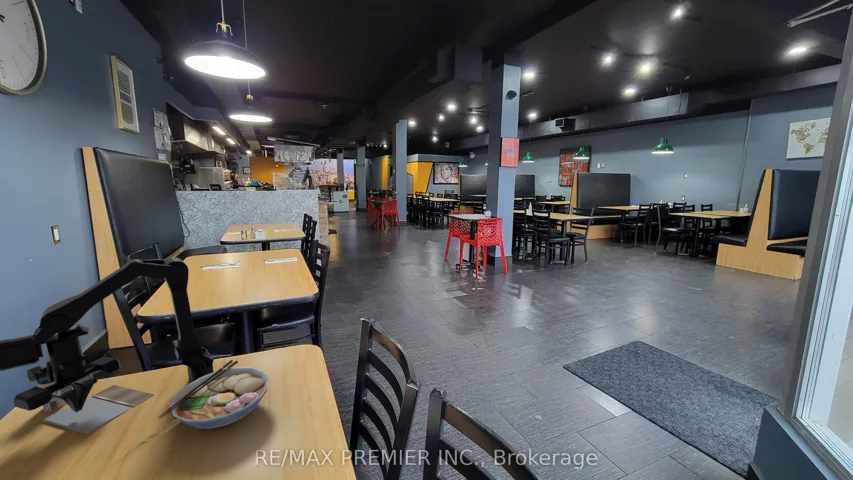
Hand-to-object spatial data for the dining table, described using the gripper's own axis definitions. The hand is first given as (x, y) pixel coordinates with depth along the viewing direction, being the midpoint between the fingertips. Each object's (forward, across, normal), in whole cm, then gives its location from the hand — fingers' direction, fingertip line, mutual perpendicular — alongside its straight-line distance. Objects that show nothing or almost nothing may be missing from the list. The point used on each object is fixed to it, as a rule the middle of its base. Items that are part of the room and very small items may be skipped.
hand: (78, 410), depth 89 cm
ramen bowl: (+4, -13, +33) cm, 36 cm away
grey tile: (+3, -2, 0) cm, 4 cm away
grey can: (+4, -2, -13) cm, 14 cm away
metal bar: (+4, -10, 0) cm, 11 cm away
